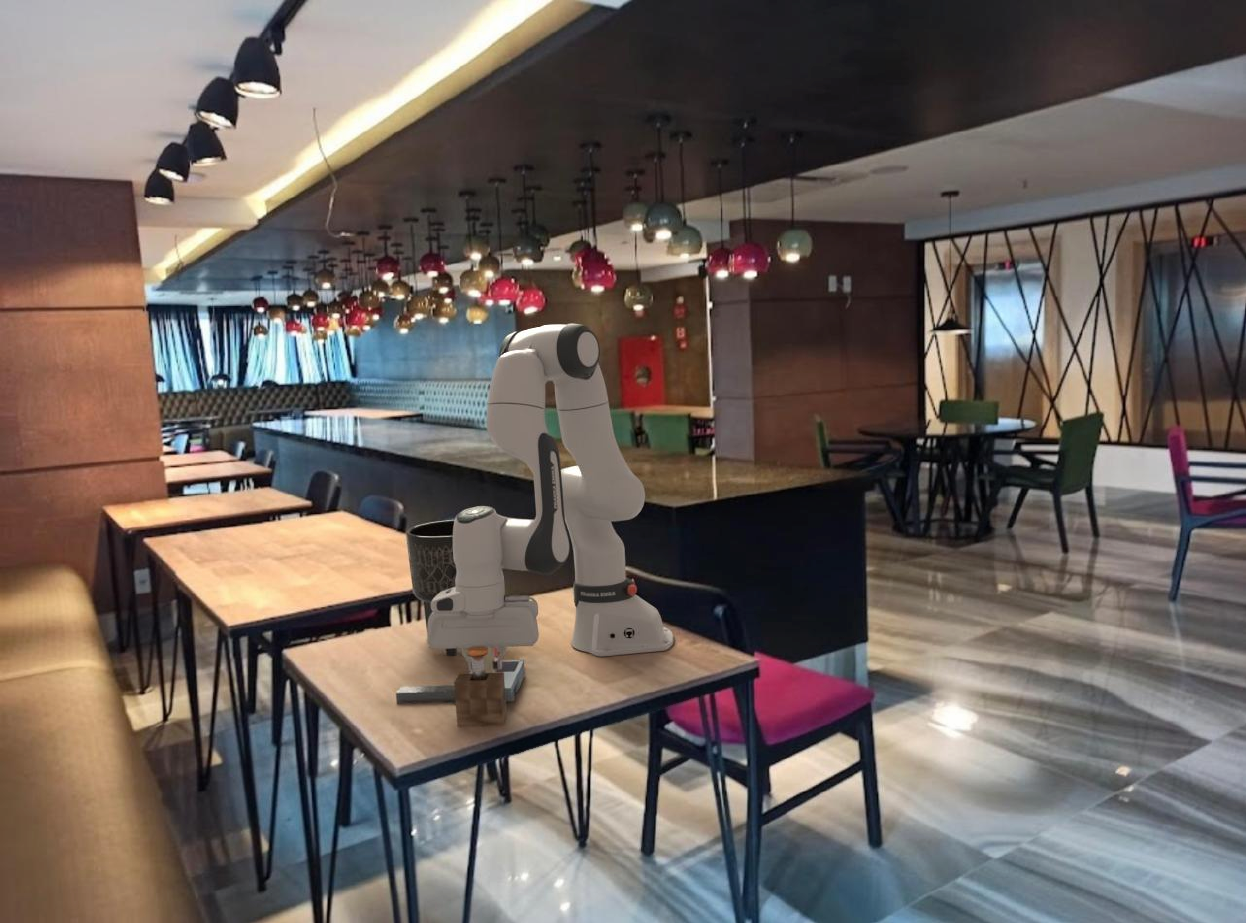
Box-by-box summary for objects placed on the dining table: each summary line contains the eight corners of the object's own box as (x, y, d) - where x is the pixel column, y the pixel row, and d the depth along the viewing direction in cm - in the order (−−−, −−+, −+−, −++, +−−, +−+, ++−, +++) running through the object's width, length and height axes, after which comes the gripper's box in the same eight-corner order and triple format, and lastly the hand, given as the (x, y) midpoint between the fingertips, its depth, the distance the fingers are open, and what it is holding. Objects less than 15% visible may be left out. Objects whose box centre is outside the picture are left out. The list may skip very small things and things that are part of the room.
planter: (495, 655, 193) (487, 535, 190) (404, 659, 193) (395, 538, 190) (508, 627, 212) (501, 517, 209) (425, 630, 213) (417, 520, 209)
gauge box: (506, 715, 161) (503, 672, 160) (502, 724, 157) (499, 680, 156) (462, 716, 161) (459, 673, 160) (457, 725, 157) (454, 682, 156)
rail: (515, 694, 171) (514, 683, 170) (512, 700, 168) (512, 689, 168) (401, 697, 172) (400, 686, 172) (396, 703, 169) (395, 693, 169)
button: (491, 682, 160) (489, 645, 159) (488, 690, 156) (485, 652, 156) (471, 683, 160) (469, 646, 159) (467, 690, 157) (465, 653, 156)
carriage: (524, 674, 181) (521, 619, 179) (511, 705, 165) (508, 646, 163) (477, 675, 181) (473, 621, 180) (460, 706, 165) (455, 647, 164)
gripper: (539, 590, 167) (543, 661, 169) (430, 593, 168) (435, 664, 170) (534, 599, 161) (539, 673, 162) (421, 603, 162) (427, 677, 163)
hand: (485, 669), depth 166 cm, fingers closed on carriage, 3 cm apart
